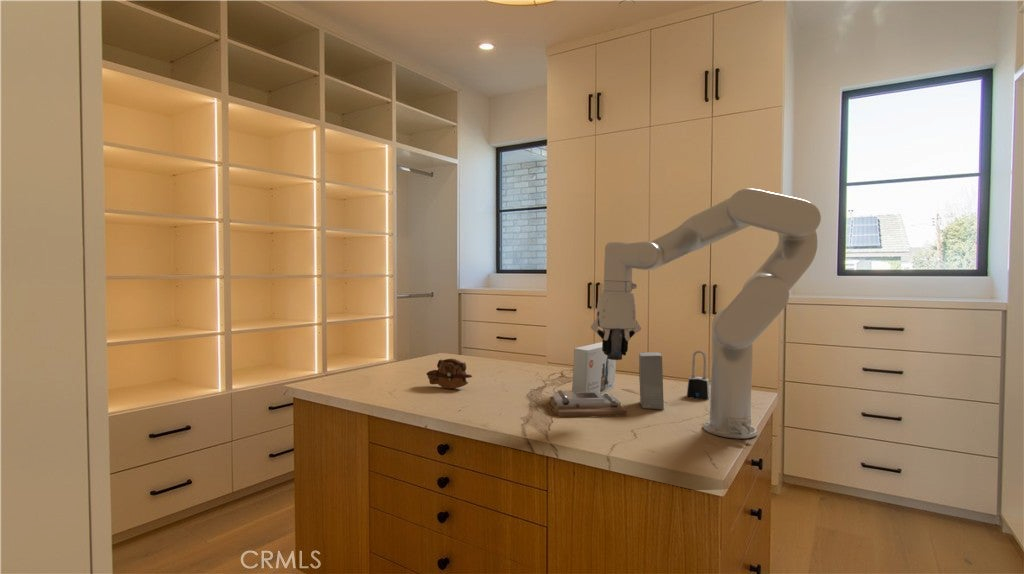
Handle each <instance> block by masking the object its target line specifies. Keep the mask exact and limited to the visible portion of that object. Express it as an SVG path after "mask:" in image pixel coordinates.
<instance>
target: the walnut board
mask: <svg viewBox="0 0 1024 574" xmlns="http://www.w3.org/2000/svg"><path fill="white" fill-rule="evenodd" d="M549 402H550V405H551V406H552V407H553V409H554V411H555V413H556V414H557V417H558V418H576V417H577V418H586V417H587V418H588V417H589V418H590V417H591V416H597V417H627V410H626V409H625V408H624V407H623V406H622V405H621V407H580V408H558V406H557V405H556V403H555V401H554V396H549Z"/></svg>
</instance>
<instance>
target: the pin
mask: <svg viewBox="0 0 1024 574" xmlns="http://www.w3.org/2000/svg"><path fill="white" fill-rule="evenodd" d="M608 338H609V341H610V351H609V355H607V359H611V360H616V361H621V360H623V355H622V348H623V330H622V329H619V328H616V329H610V332H609V337H608Z"/></svg>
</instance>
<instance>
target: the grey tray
mask: <svg viewBox="0 0 1024 574" xmlns="http://www.w3.org/2000/svg"><path fill="white" fill-rule="evenodd" d="M553 397H554V401H555V403H556V405H557V406H558V408H580V407H621V406H622V403H621V402H620V401H619V400H618V399H617V397H616V396H614V395H612V394H611V395H610V394H608V393H603V394H602V395H601V394H599V393H598V392H572V391H563V390H560V389H559V390H558V391H553Z"/></svg>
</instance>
